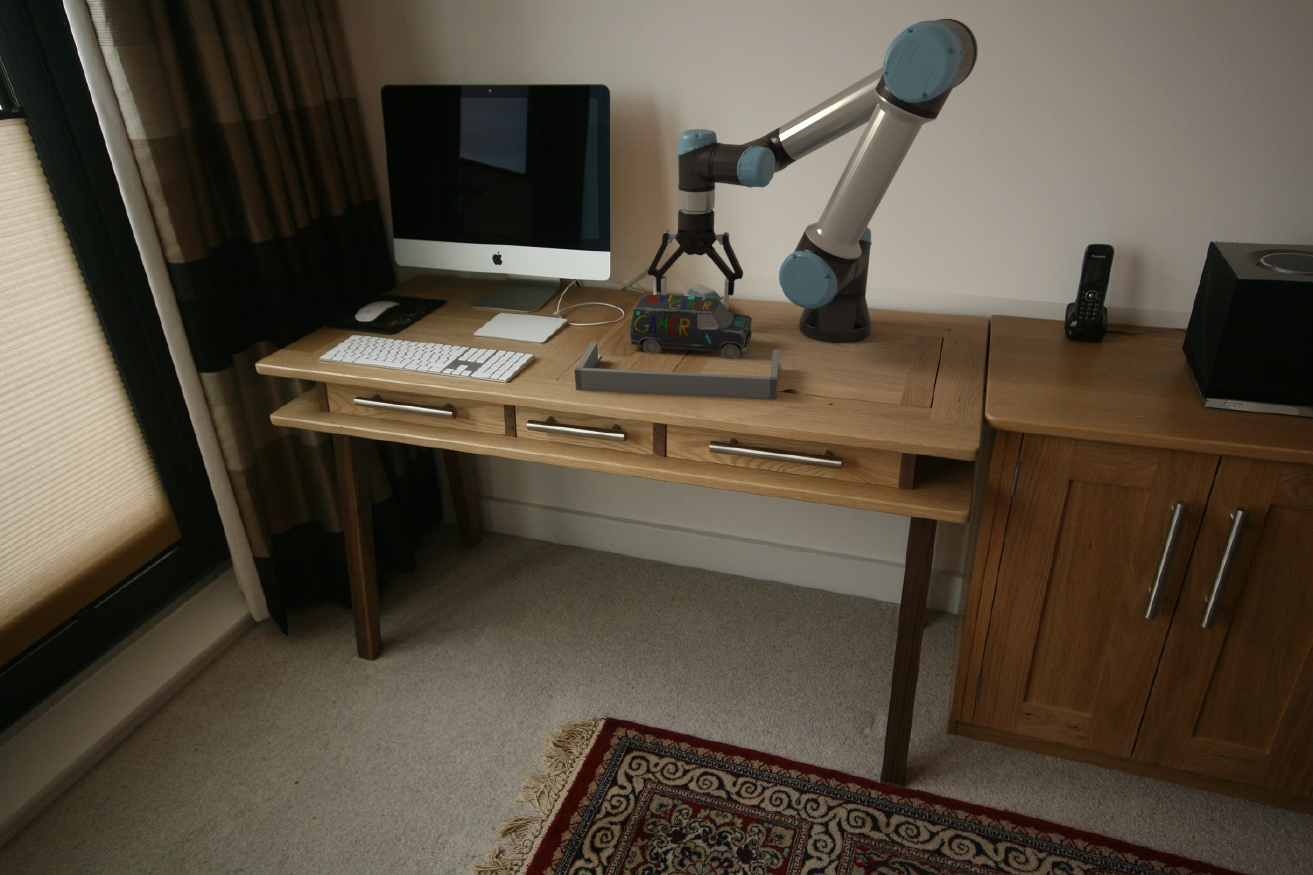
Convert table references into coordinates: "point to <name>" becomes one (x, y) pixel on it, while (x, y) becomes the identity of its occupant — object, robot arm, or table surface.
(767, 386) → the bay
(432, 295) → the table surface
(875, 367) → the table surface
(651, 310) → the toy van
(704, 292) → the toy car
